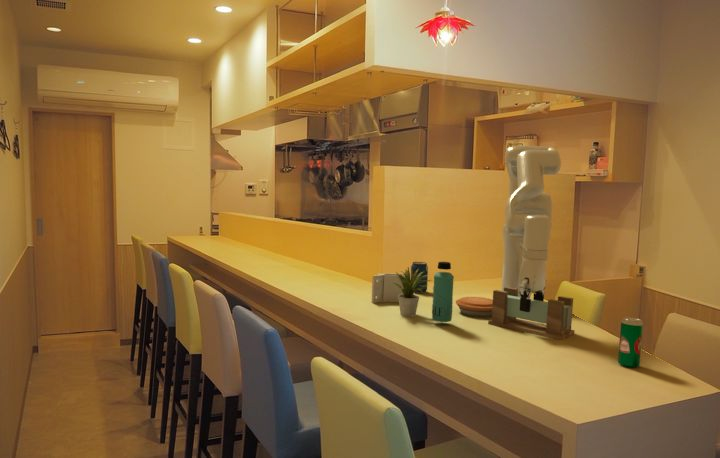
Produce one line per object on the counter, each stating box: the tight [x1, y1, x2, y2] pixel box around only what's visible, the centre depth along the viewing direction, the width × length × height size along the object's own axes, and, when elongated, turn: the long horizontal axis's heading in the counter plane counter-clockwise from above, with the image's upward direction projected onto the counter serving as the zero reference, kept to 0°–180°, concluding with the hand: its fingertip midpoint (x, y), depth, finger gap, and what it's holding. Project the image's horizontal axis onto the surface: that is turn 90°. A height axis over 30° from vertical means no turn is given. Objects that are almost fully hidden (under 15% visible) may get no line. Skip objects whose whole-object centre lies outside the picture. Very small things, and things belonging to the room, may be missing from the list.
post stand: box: [488, 287, 576, 341], centre depth 173 cm, size 10×24×11 cm, turn 49°
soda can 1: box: [410, 261, 429, 294], centre depth 225 cm, size 7×7×12 cm
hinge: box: [371, 273, 405, 304], centre depth 206 cm, size 14×5×10 cm, turn 106°
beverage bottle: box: [431, 261, 454, 323], centre depth 174 cm, size 6×7×20 cm
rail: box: [506, 295, 573, 328], centre depth 173 cm, size 4×24×6 cm, turn 49°
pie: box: [455, 296, 493, 318], centre depth 192 cm, size 15×16×5 cm
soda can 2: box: [617, 316, 644, 369], centre depth 140 cm, size 5×5×12 cm
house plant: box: [392, 266, 432, 317], centre depth 184 cm, size 14×14×16 cm
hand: (531, 308), depth 173 cm, fingers open, 9 cm apart
